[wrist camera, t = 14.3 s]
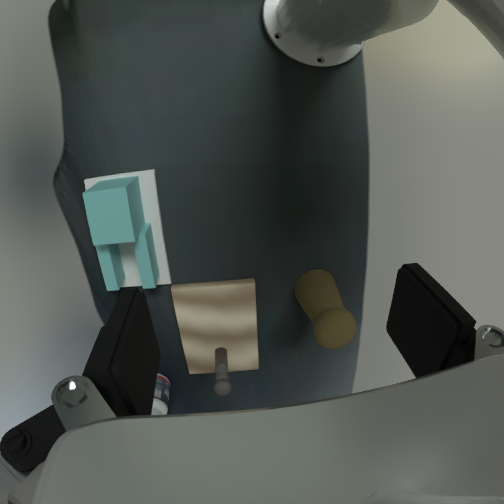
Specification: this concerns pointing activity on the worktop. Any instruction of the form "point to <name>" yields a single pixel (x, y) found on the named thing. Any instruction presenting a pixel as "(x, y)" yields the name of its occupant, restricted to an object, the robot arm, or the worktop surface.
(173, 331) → the worktop surface
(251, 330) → the stand
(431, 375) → the robot arm
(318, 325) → the cork
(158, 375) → the pill bottle
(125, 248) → the mat
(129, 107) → the worktop surface
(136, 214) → the link
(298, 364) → the worktop surface
